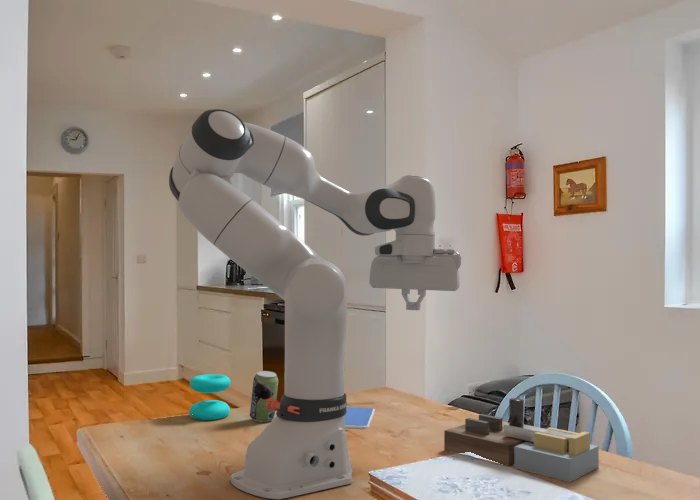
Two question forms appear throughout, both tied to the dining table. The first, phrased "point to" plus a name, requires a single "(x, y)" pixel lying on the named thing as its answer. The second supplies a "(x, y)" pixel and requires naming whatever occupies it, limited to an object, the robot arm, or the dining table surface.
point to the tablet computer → (358, 417)
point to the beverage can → (263, 395)
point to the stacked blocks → (558, 455)
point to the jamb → (482, 439)
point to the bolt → (525, 431)
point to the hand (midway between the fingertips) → (413, 310)
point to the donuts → (209, 407)
